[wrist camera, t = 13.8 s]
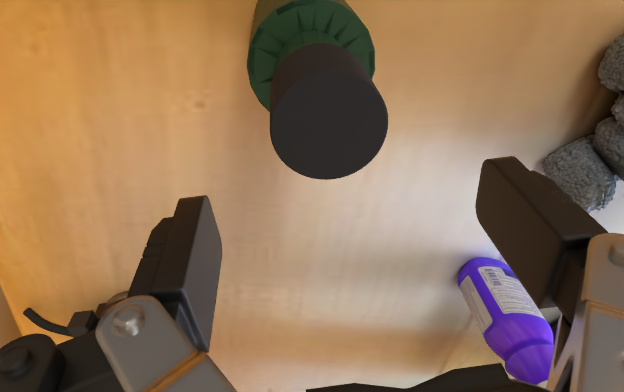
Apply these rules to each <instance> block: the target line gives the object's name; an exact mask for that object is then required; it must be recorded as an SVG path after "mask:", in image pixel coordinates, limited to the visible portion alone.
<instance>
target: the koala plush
mask: <svg viewBox="0 0 624 392" xmlns="http://www.w3.org/2000/svg"><path fill="white" fill-rule="evenodd" d="M607 49H608V50H607V51H606V53H605V57H604V58H603V60H602V61H601V63H600V67H599V69H598V72H599V73H598V77H599V78H600V79H602V80H601V84H604V86H606V87H607V89H610V90H612V91H614V92H617V93H619V96H618V99H615V102H616V103H615V104H614V105H613V106H612V109H611V111H612V114H613V115H614V116H611V117H609V118H606V119H603V120H602V121H601V122H600V123H598V126H597V127H596V130H595V135H593V134H591V135H589V136H587V137H582V138H580V139H577V140H576V141H573V142H571V143H569V144H567V145H565V146H563V147H561V148H558V149H557V150H556V151H555V153H553V154H550V155H548V158H546V159H545V162H544V163H543V164H544V167H543V169H544V171H545V174H546V177H548V178H550V179H552V180H553V181H554V182H555V183H556V184H557V185H558V186H559V187H560V188H561V189H562V190H563V192H564V193H567V194H568V195H569V196H570V197H571V198H572V199H573V202H576V203H577V204H578V205H580V206H581V207H582V208H583V209H584V210H585V211H586V212H587V213H590V212H591V211H593V210H595V209H597V210H601V208H605V206H606V205H607V204H608V203H609V202H610V201H611V200H612V199H613V195H614V193H615V188H616V181H619V180H623V181H624V33H623V34H621V35H620V37H617V38H616V39H615V40H614V42H613V43H611V44H610V46H609V47H608V48H607Z"/></svg>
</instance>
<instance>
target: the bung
mask: <svg viewBox="0 0 624 392" xmlns="http://www.w3.org/2000/svg"><path fill="white" fill-rule="evenodd" d="M387 129H388V113H387V109H386V105H385V103H384V100H383V98H382V97H381V95H380V93H379V91H378V90H377V88H376V86H375V85H374V83H373V81H372V80H371V78H370V77H369V75H368V73H367V72H366V70H365V68H364V67H363V65H362V64H361V62H360V61H359V60H358V58H357V57H356V56H355V55H353V54H352V53H351V52H349V51H348V50H346V49H344V48H343V47H340V46H337V45H334V44H329V43H315V44H310V45H306V46H303V47H301V48H299V49H297V50H295V51H294V52H292V53H291V54H289V55H288V56H287V57H286V58H285V59H284V60H283V61H282V62H281V63H280V65H279V66H278V68H277V69H276V71H275V74H274V76H273V79H272V82H271V88H270V136H271V140H272V144H273V146H274V149H275V151H276V153H277V154H278V156H279V157H280V159H281V160H282V161H283V162H284V163H285V164H286V165H287V166H288V167H290V168H291V169H292V170H294V171H295V172H297V173H299V174H301V175H304V176H306V177H310V178H314V179H325V180H327V179H337V178H341V177H345V176H348V175H350V174H353V173H355V172H357V171H358V170H360V169H362V168H363V167H364V166H366V165H367V164H368V163H369V162H370V161H371V160H372V159H373V158H374V157H375V156H376V155H377V153H378V152H379V150H380V149H381V147H382V145H383V143H384V140H385V137H386V134H387Z"/></svg>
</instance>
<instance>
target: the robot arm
mask: <svg viewBox="0 0 624 392" xmlns="http://www.w3.org/2000/svg"><path fill="white" fill-rule="evenodd" d="M476 214H477V218H478V221H479V223H480V224H481V226H482V227H483V229H484V230H485V232H486V233H487V235H488V236H489V238H490V239H491V240H492V242H493V243H494V245H495V246H496V248H497V249H498V251H499V252H500V254H501V255H502V256H503V258H504V259H505V261H506V262H507V264H508V265H509V267H510V268H511V270H512V271H513V273H514V274H515V275H516V277H517V278H518V280H519V281H520V283H521V284H522V286H523V287H524V289H525V290H526V292H527V293H528V294H529V296H530V297H531V299H532V300H533V302H534V303H535V305H536V306H537V308H538V309H543V308H550V307H558V308H559V310H560V311H561V312H562V313H561V316H560V318H559V321H558V326H557V332H556V338H555V343H554V349H553V355H552V360H551V366H550V372H549V377H548V382H547V385H546V389H545V388H543V387H540V386H537V385H534V384H531V383H528V382H524V381H520V380H515V379H509V377H508V375H507V373H506V372H505V370H504V368H503V366H502V364H501V363H497V364H490V365H482V366H475V367H468V368H460V369H453V370H451V371H449V372H446V373H444V374H442V375H439V376H437V377H435V378H432V379H430V380H428V381H425V382H423V383H421V384H418V385H416V386H414V387H411V388H406V389H402V388H393V387H384V386H375V385H367V384H358V383H351V384H344V385H336V386H329V387H322V388H315V389H307V390H306V392H624V234H617V233H608V232H607V231H606V230H605V229H604V228H603V227H602V226H601V225H600V224H599V223H598V222H597V221H596V220H595V219H593V218H592V217H591V216H590V215H589V214H588V213H587V212H586V211H585V210H584V209H583V208H582V207H581V206H580V205H578V204H577V203H576V202H573V199H572V198H571V197H570V196H569V195H568V194H567V193H564V192H563V190H562V189H561V188H560V187H559V186H558V185H557V184H556V183H555V182H554V181H553V180H552V179H550V178H548V177H546V176H544V175H542V174H540V173H538V172H536V171H529V170H528V169H527V168H526V167H525V166H524V165H523V164H522V163H521V162H520V161H519V160H518V159H517V158H516V157H514V156H509V157H501V158H494V159H487V160H485V161H484V162H483V164H482V168H481V174H480V180H479V186H478V192H477V198H476ZM142 256H143V258H141V260H140V263H139V266H138V268H137V271H136V274H135V276H134V279H133V282H132V284H131V287H130V290H129V291H127V292H123V293H120V294H117V295H115V296H114V297H112V298H111V299H110V300H109V301H108V302H107V303H103V304H99V305H98V308H97V310H96V312H95V314H94V312H93V311H92V310H89V311H82V312H75V313H74V314H73V316H72V318H71V320H70V322H69V324H68V326H67V327H64V326H60V325H57V324H54V323H51V322H49V321H47V320H45V319H43V318H42V317H40V316H39V315H38V314H37V313H36V312H35V311H33V310H32V309H31V308H27V309H26V310H25V311H24V312H23V314H24V315H25V316H26V317H27V318H29V319H30V320H31V321H32V322H33V323H35V324H36V325H37V326H39V327H41V328H43V329H45V330H48V331H51V332H54V333H58V334H62V335H67V336H71V337H73V339H71V340H68V341H65V342H63V343H60V344H58V345H56V344H55V343H54V341H53V340H52V339H51V338H50V337H49V336H47V335H44V334H30V335H26V336H23V337H20V338H18V339H16V340H14V341H11V342H10V343H8V344H7V345H5V346H3V347H2V348H1V349H0V392H237V391H236V389H235V388H234V387H233V386H232V384H231V383H230V382H229V381H228V379H227V378H226V377H225V376H224V374H223V373H222V372H221V371H220V369H219V368H218V367H217V366H216V364H215V363H214V362H213V361H212V359H211V358H210V357H209V356H208V355H207V354H206V353H208V352H209V346H210V339H211V332H212V325H213V318H214V311H215V303H216V296H217V289H218V282H219V275H220V268H221V261H222V243H221V237H220V234H219V230H218V227H217V224H216V220H215V217H214V214H213V210H212V207H211V204H210V201H209V198H208V197H207V196H206V195H204V196H196V197H188V198H181V199H179V201H178V204H177V207H176V210H175V213H174V216H173V217H169V218H163V219H162V220H161V221H160V222H159V223H158V225H157V226H156V227H155V228H154V229H153V230H152V231H151V234H150V236H149V239H148V242H147V247H145V250H144V252H143V255H142Z"/></svg>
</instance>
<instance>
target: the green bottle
mask: <svg viewBox="0 0 624 392" xmlns="http://www.w3.org/2000/svg"><path fill="white" fill-rule="evenodd" d="M315 43H329V44H334V45H337V46H340V47H343V48H344V49H346V50H348V51H349V52H351V53H352V54H353V55H355V56H356V57H357V58H358V60H359V61H360V62H361V64H362V65H363V67H364V68H365V70H366V72H367V73H368V75H369V77H370V78H371V80H372V78H373V75H374V71H375V50H374V46H373V43H372V40H371V37H370V34H369V31H368V29H367V28H366V26H365V25H364V24H363V23H362V21H361V20H360V19H359V17H358V16H357V15H356V13H355V12H354V11H353V10H352V9H351V8H350V6H349V5H348V4H347V3H346V2H345V1H344V0H258V2H257V5H256V10H255V16H254V22H253V27H252V33H251V39H250V44H249V51H248V59H247V69H248V75H249V80H250V85H251V87H252V89H253V91H254V93H255V94H256V96H257V98H258V100H259V102H260V103H261V104H262V105H263V106H264V107H265V108H266V109H267V110H268V111H269V112H270V88H271V82H272V79H273V76H274V74H275V71H276V69H277V68H278V66H279V65H280V63H281V62H282V61H283V60H284V59H285V58H286V57H287V56H288V55H289V54H291V53H292V52H294V51H295V50H297V49H299V48H301V47H303V46H306V45H310V44H315Z"/></svg>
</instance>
